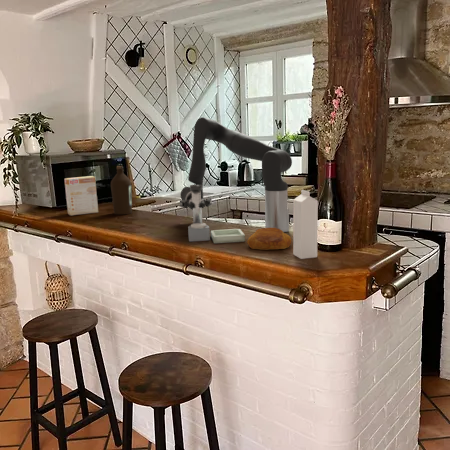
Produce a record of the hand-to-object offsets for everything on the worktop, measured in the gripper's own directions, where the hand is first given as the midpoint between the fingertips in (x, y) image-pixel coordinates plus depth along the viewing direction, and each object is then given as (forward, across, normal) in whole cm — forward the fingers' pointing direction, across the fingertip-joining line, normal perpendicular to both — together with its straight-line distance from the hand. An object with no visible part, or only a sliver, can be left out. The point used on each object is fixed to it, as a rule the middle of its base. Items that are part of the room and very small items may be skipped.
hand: (197, 205), depth 186 cm
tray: (+6, +11, +13) cm, 18 cm away
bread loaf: (+21, +24, +14) cm, 35 cm away
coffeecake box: (-74, -57, +12) cm, 94 cm away
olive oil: (-67, -35, +12) cm, 76 cm away
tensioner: (0, 0, +13) cm, 13 cm away
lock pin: (-3, 0, +9) cm, 9 cm away
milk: (+37, +33, +14) cm, 51 cm away
